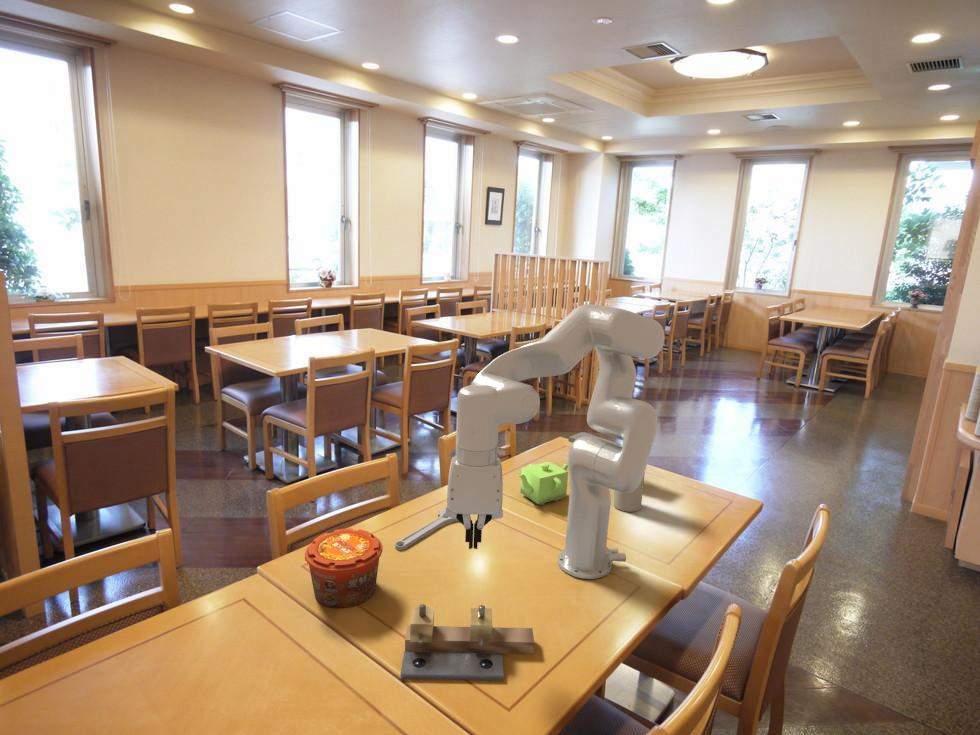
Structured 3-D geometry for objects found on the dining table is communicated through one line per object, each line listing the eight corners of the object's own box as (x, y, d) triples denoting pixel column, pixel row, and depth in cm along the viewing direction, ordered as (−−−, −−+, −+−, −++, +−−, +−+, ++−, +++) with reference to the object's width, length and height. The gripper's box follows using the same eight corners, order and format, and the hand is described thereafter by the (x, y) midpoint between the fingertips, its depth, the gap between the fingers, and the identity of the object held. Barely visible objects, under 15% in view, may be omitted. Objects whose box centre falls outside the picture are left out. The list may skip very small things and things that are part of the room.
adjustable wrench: (400, 553, 143) (400, 547, 142) (383, 544, 147) (383, 537, 146) (469, 517, 162) (469, 511, 161) (452, 509, 166) (452, 503, 165)
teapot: (569, 491, 180) (571, 458, 177) (568, 511, 167) (571, 476, 164) (519, 485, 182) (521, 453, 179) (514, 505, 169) (516, 471, 166)
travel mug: (644, 505, 172) (650, 447, 168) (635, 515, 166) (641, 455, 162) (618, 497, 177) (624, 441, 172) (608, 507, 170) (614, 448, 166)
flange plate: (501, 658, 109) (502, 653, 109) (503, 680, 104) (503, 675, 103) (404, 656, 108) (404, 651, 108) (400, 678, 103) (400, 673, 103)
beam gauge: (531, 637, 115) (533, 600, 113) (535, 664, 108) (537, 625, 106) (407, 635, 114) (408, 597, 112) (403, 662, 107) (403, 622, 105)
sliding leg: (491, 624, 114) (492, 599, 113) (492, 650, 107) (493, 624, 105) (470, 623, 114) (471, 598, 112) (469, 650, 107) (470, 623, 105)
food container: (290, 601, 123) (288, 555, 120) (336, 562, 137) (335, 520, 135) (355, 622, 117) (354, 574, 115) (396, 579, 132) (396, 536, 129)
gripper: (516, 447, 110) (511, 535, 115) (436, 445, 110) (434, 534, 114) (519, 463, 103) (513, 557, 107) (433, 460, 103) (431, 555, 107)
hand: (473, 544), depth 111 cm, fingers closed
